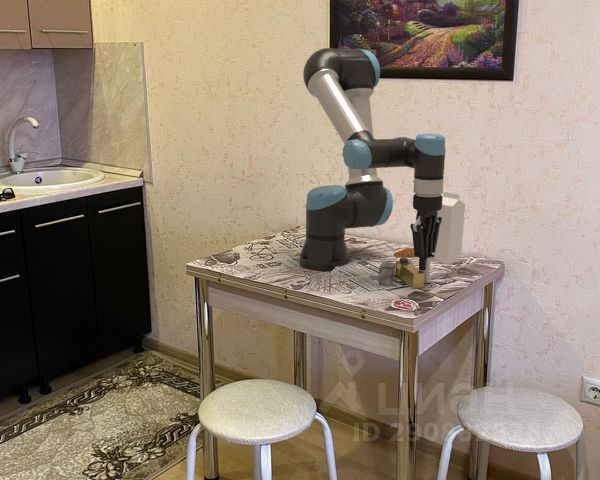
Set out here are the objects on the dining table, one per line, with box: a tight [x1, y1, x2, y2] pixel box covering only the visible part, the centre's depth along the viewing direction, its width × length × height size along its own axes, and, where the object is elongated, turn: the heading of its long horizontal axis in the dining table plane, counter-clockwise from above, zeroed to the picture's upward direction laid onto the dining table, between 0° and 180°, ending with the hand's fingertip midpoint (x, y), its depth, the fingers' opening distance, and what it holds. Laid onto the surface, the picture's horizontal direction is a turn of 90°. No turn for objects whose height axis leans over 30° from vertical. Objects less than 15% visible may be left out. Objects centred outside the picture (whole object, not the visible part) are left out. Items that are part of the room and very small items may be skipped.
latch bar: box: [394, 259, 425, 289], centre depth 180 cm, size 13×4×4 cm, turn 12°
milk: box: [432, 191, 466, 265], centre depth 199 cm, size 6×6×22 cm
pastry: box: [392, 247, 416, 259], centre depth 207 cm, size 9×7×4 cm
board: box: [378, 258, 409, 287], centre depth 184 cm, size 17×24×6 cm
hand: (423, 280), depth 178 cm, fingers closed
